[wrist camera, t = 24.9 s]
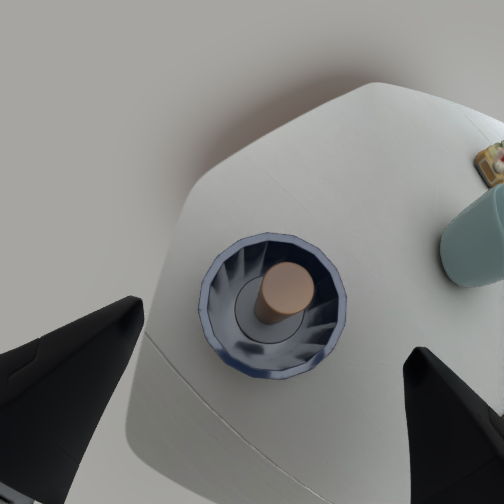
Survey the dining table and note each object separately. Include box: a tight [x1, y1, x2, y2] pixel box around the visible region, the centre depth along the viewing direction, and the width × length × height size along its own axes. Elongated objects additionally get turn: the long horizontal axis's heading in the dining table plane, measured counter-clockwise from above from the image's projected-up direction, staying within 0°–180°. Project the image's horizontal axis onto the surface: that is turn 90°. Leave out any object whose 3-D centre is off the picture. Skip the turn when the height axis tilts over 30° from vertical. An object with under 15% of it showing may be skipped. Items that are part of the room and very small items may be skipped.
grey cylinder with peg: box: [234, 262, 314, 344], centre depth 15 cm, size 4×4×11 cm
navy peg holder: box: [198, 232, 347, 380], centre depth 17 cm, size 8×8×8 cm
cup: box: [440, 183, 504, 288], centre depth 18 cm, size 8×8×10 cm
